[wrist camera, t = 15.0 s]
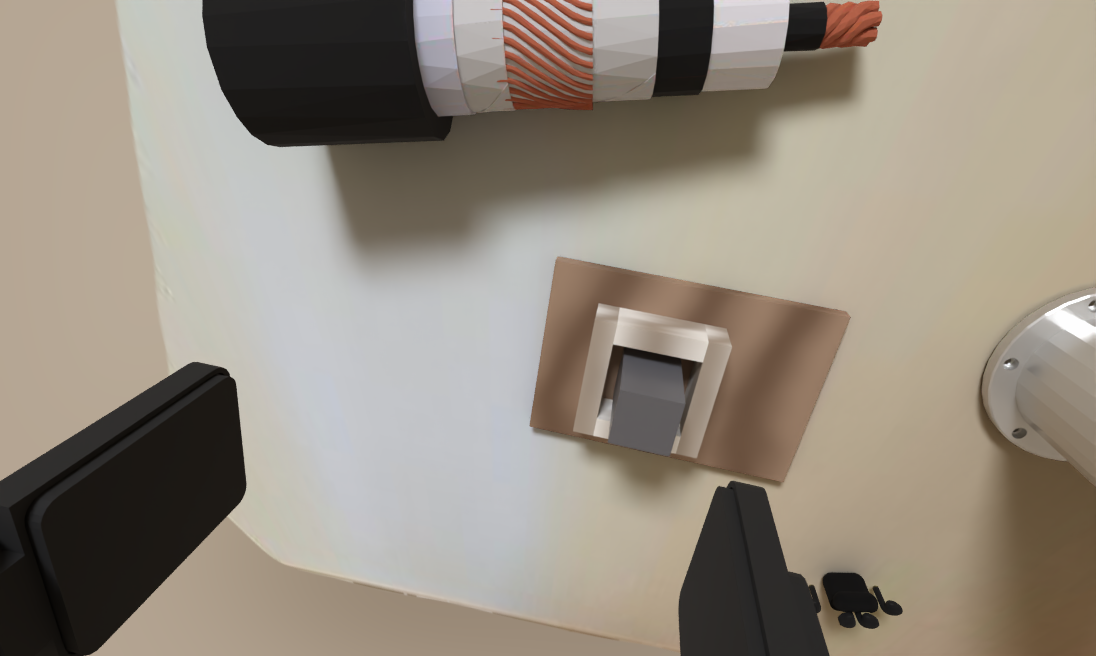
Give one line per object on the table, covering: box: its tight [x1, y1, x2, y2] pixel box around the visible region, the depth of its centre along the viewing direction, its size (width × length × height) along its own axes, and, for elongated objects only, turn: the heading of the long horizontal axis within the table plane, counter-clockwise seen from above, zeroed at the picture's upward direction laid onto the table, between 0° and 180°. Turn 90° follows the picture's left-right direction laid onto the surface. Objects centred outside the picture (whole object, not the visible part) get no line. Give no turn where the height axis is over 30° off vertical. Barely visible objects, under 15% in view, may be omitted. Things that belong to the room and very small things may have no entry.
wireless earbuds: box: [809, 573, 903, 629], centre depth 45 cm, size 7×2×5 cm, turn 98°
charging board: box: [530, 257, 851, 482], centre depth 41 cm, size 20×14×4 cm
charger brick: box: [608, 347, 685, 457], centre depth 39 cm, size 4×4×7 cm
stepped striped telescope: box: [202, 0, 882, 147], centre depth 31 cm, size 10×34×10 cm
